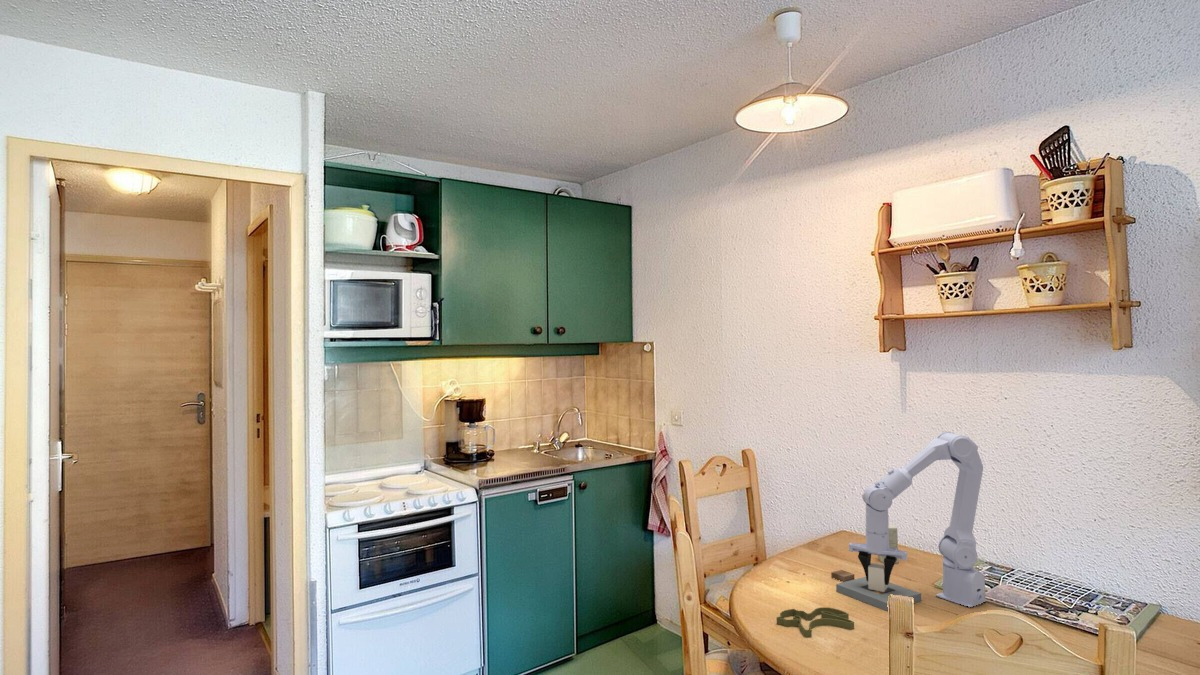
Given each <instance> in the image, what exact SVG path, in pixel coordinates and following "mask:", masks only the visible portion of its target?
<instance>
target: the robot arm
mask: <svg viewBox="0 0 1200 675" xmlns="http://www.w3.org/2000/svg"><path fill="white" fill-rule="evenodd" d="M978 449H979V446H978V445H977V444H976V443H975V442H974V441H973V440H972V438H970V437H968V436H966V435H962V434H956V433H954V432H951V431H944V432H942V433H940V434H938V436H937V437H935V438H933V439H931V440H930V442H929V443H928V444H927V445H926V447H924V448H923V449H922V450H921V451H920V452H919V453H918V454H916V455H915V456H914V457H913V458H912V459H911V460H910V461H909V462H907V464H905V465H904V466H903V467H895V468H894V469H892V468H889V470H888V471H887V474H886V475H885V476H884V477H883V478H881V479H880V480H879V481H877V480H876V481H874V485H870V486H868V487H866V489H864V492H863V494H862V495H861V497H862V500H863V502H864V503H865V543H856V542H850V543H848V551H849V552H856V553H858V555H857V558H858V560H859V562H860V564H861V566H862V569H863V571H864V575H865V577H866V580H867V581H868V566H869V565H870V564H871V563H872V562H871V561H872V555H875V556H878V555H879V556H885V557H886V558H885V559H884V563H883V565H884V566H885V585H888V584H889V582H890V578H891V574H892V571H893V568H894V566H895V564H896V563H895V562H896V560H897V559H898V560H901V561H904V562H905V561H908V551H906V550H900V549H898V550H897V549H893V548H889V525H890V524H889V523H890V522H889V521H890V520H889V509H890V508H891V507H892V503H893V500H894V499H895V498H897V497H898V496H900V495H901V494H902V493H903V492H904V491H906V490H907V489H908V488H909V487H910V486H911V485H913V478H914V477H915V476H917V475H918V474H919V473H921V472H922V471H924V470H925V469H927V468H929V466H930V465H931V466H932V465H933V463H935V462H936V461H948V460H951V461H952V463H954V464H955V466H956V467H957V468H958V469H959V470H958V476H957V482H956V488H955V493H954V499H953V507H952V512H951V517H950V523H949V526H948V527H947V528H945V530H944V532H943V536H942V537H941V539H940V540H939V543H938V551H939V553H940V554H941V555H942V592H940V593H936V595H935V596H936V597H938V598H941V599H942V600H946V601H948V602H952V603H955V604H958V605H960V604H961V606H963V605H964V607H966V606H968V607H967V608H970V607H971V608H974V607H977V606H979V605H978V604H980V603H983V602H985V600H986V578H985V575H984V573H983V572H982V571H979V570H977V569H976V568H975V567H974V566H975V565H976V564H977V562H978V559H979V558H978V552H977V549H976V548H977V541H976V539H975V536H974V534H973V532H974V525H975V524H974V523H975V518H976V514H977V513H976V512H977V507H978V502H979V496H980V489H981V484H982V477H983V471H984V465H983V462H982V459H981V457H980V454H979V451H978ZM983 604H984V603H983ZM976 605H977V606H976ZM980 605H981V604H980ZM973 606H974V607H973Z"/></svg>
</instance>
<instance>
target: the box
mask: <svg viewBox="0 0 1200 675" xmlns="http://www.w3.org/2000/svg"><path fill="white" fill-rule="evenodd" d="M898 541H899V540H898V527H896V526H895V525H893V524H889V548H893V549H897V550H899V544H898ZM885 558H886V557H885V556H879V555H877V559H878V560H879V561H880V563H882V564H884V559H885ZM895 564H899V559H897V560H896V562H895Z"/></svg>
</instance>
